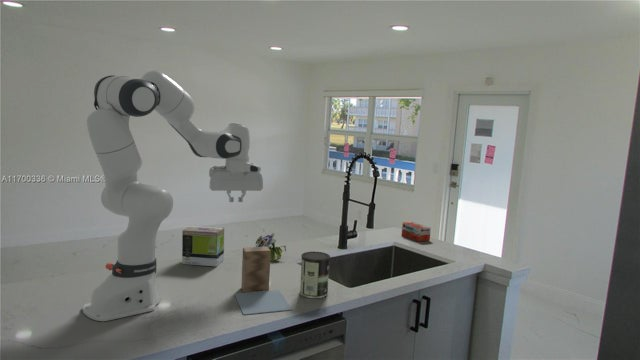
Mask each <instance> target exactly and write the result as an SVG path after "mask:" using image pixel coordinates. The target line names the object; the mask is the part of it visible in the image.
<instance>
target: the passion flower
mask: <svg viewBox="0 0 640 360" xmlns="http://www.w3.org/2000/svg"><path fill="white" fill-rule="evenodd" d="M274 237H275V233H273V232H272V233H271V234H268V235H265V236H263V235H260V236H259V237H258V238H256V241H255V247H268V248H269V249H270V250H271V252H270V262H272V263H274V262H275V259H277V260H279V259H280V258H281V257H282V253H283V250H282V248H284V251H285V252H286V251H287V247H286V245H280V246H275V245H276V244H275V243H276V242H277V239H276V238H274Z"/></svg>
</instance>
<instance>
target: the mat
mask: <svg viewBox="0 0 640 360" xmlns="http://www.w3.org/2000/svg"><path fill="white" fill-rule="evenodd" d="M234 296H235V299H236V301H237V304H238V306H239V307H240V310H241V312H242V315H243V316H247V315H255V314H268V313H277V312H287V311H293V308H292V306H291V305H290V304H289V302H288V301H287V300H286V298H285V297H284V295H283V294H282V292H281V291H280V290H279V289H276V290H269V291H258V292H246V293H244V292H238V293H234Z"/></svg>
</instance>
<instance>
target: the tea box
mask: <svg viewBox="0 0 640 360" xmlns="http://www.w3.org/2000/svg"><path fill="white" fill-rule="evenodd" d="M181 232H182V238H181V239H182V240H181V243H182V244H181V246H182V247H181V248H182V249H181V250H182V252H181V254H182V256H181V258H182V259H181V260H182V261H181V263H182V265H189V266H191V265H193V266H201V267H202V266H203V267H204V266H205V267H218V266H219V265H221V263H223V261H224V260H225V259H224V258H225V257H224V256H225V227H221V226H220V227H219V226H206V225H205V226H204V225H203V226H202V225H190V226H188V227H186V228H184V229H182V231H181Z"/></svg>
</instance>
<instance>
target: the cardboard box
mask: <svg viewBox="0 0 640 360" xmlns="http://www.w3.org/2000/svg"><path fill="white" fill-rule="evenodd" d="M270 252H271V250H270V249H269V248H268V247H256V246H253V247H252V246H249V247H248V246H247V247H243V248H242V261H241V262H242V264H241V265H242V266H241V289H242V291H243V292H242V293H249V292H261V291H270V272H271V271H270V269H271V257H270Z"/></svg>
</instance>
